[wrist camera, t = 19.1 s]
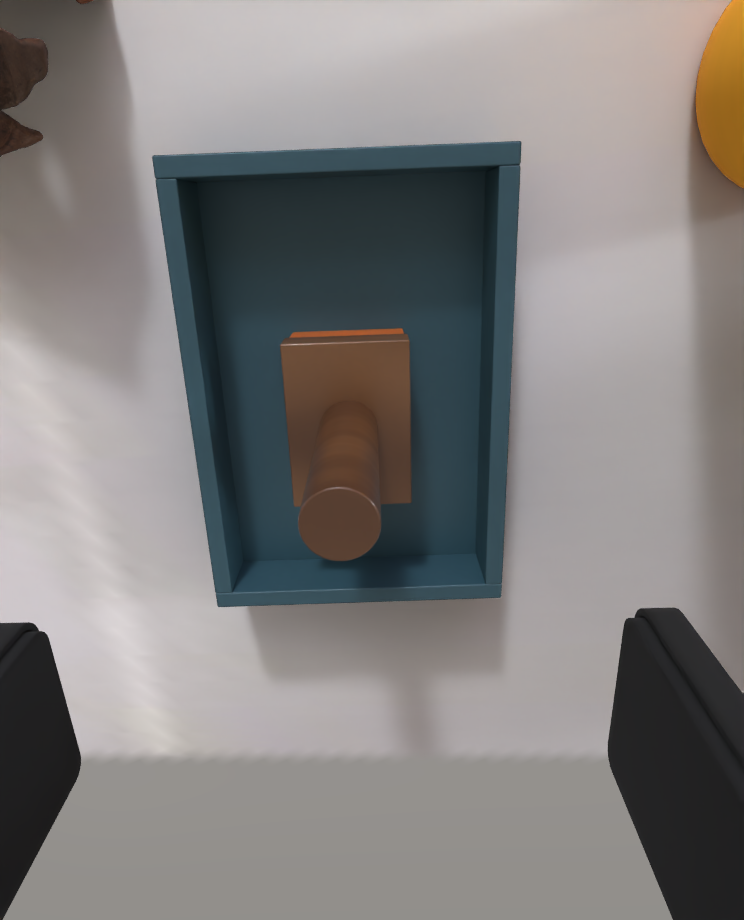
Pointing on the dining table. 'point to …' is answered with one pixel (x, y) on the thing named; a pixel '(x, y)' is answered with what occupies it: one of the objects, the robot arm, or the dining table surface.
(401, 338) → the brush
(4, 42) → the brown twisted loop
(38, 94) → the dining table surface
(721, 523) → the dining table surface
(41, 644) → the robot arm
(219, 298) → the tray
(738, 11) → the beer bottle
